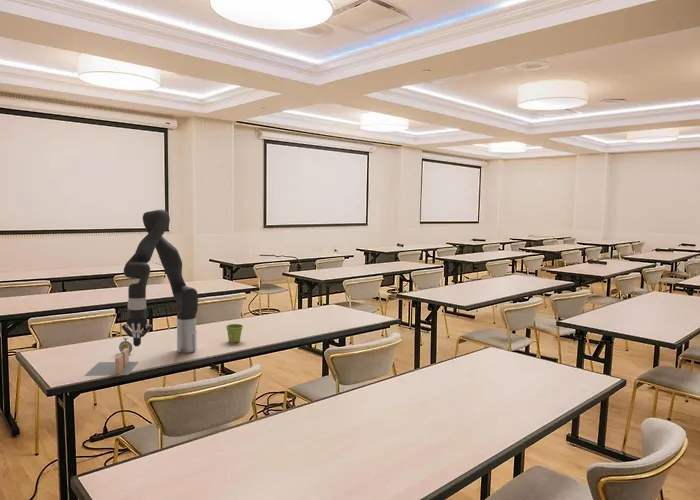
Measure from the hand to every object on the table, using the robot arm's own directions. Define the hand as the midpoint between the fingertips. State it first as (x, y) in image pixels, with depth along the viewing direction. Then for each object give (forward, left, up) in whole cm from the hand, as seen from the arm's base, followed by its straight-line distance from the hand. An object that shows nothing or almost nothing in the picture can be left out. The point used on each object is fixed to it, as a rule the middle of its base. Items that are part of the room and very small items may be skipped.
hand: (137, 345), depth 222 cm
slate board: (+12, -4, -13) cm, 18 cm away
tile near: (+8, 0, -12) cm, 14 cm away
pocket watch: (+13, -24, -13) cm, 30 cm away
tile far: (+8, -9, -12) cm, 17 cm away
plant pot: (-38, -50, -13) cm, 64 cm away
